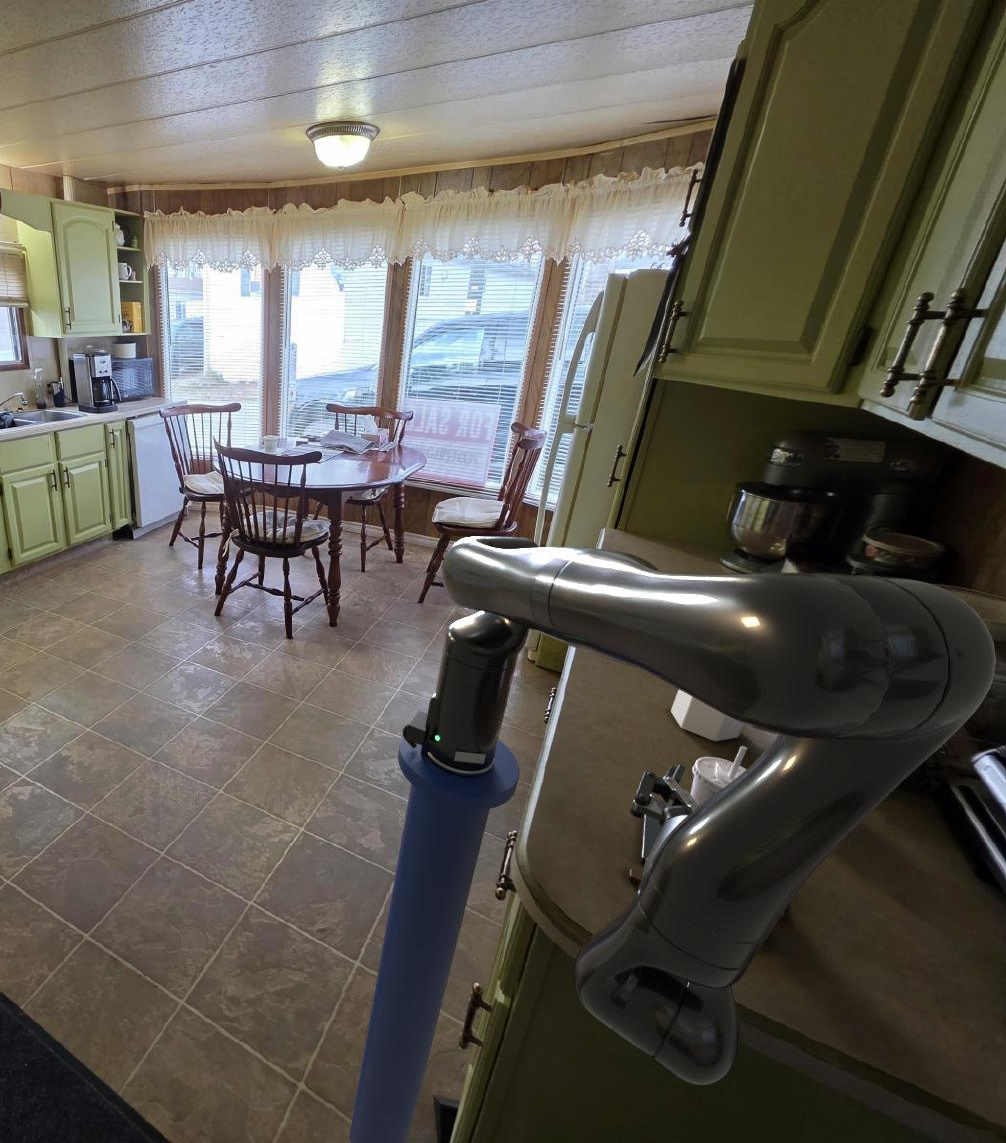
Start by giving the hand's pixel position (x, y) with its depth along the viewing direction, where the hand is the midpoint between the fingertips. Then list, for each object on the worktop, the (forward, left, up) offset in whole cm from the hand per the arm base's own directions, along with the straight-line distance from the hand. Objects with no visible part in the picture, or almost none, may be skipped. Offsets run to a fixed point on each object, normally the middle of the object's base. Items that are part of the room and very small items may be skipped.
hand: (724, 790), depth 69 cm
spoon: (-1, -8, -10) cm, 13 cm away
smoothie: (0, +2, -9) cm, 9 cm away
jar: (+1, +32, -10) cm, 33 cm away
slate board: (+1, +1, -10) cm, 10 cm away
